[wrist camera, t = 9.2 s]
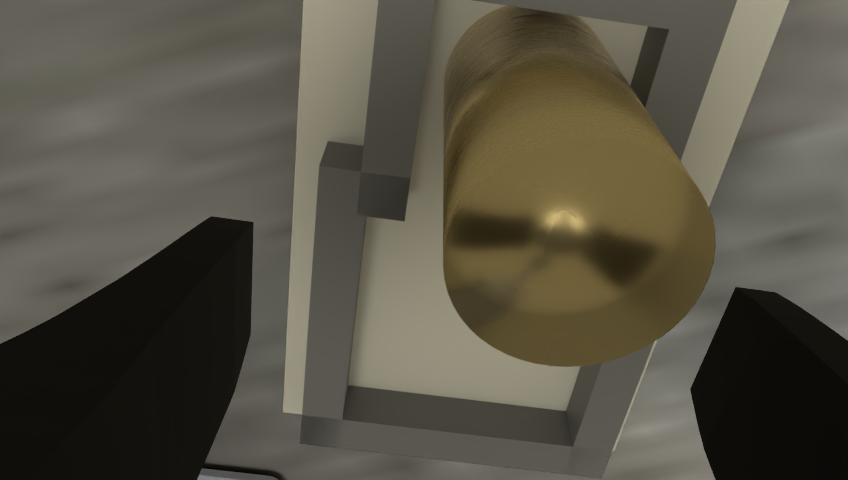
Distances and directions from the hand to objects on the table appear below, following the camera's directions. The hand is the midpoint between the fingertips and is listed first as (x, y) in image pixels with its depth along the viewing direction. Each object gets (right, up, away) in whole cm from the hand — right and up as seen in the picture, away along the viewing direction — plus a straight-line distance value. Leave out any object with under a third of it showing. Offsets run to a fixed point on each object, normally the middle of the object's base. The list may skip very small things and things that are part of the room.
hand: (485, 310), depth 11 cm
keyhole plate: (+1, +2, +10) cm, 10 cm away
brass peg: (+2, +5, +7) cm, 8 cm away
